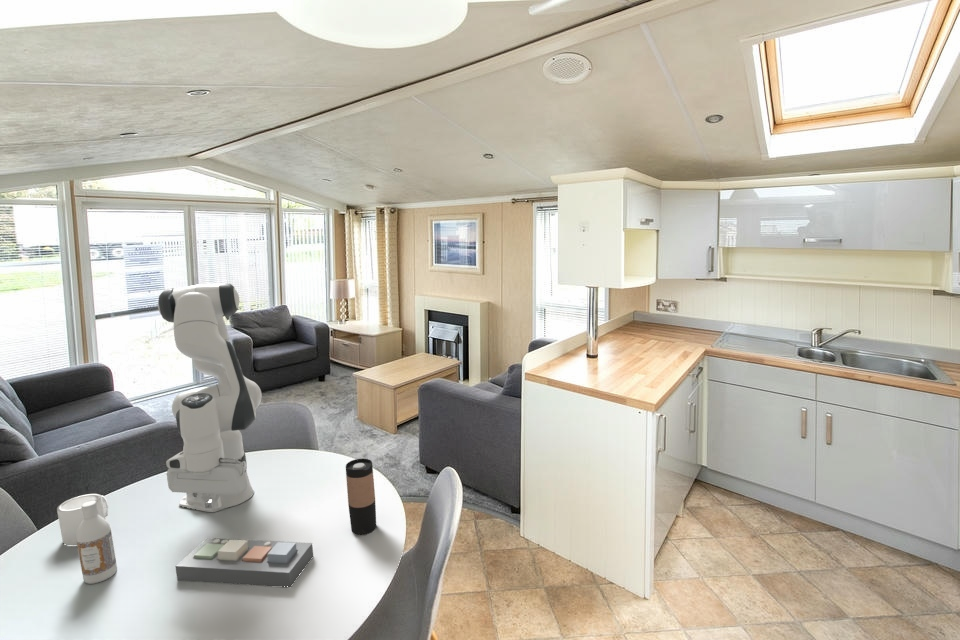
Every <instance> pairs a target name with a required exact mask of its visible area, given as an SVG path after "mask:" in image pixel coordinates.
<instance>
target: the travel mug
mask: <svg viewBox="0 0 960 640" xmlns="http://www.w3.org/2000/svg"><path fill="white" fill-rule="evenodd" d="M373 466H374V465H373V462H372V460H371V459H369V458H357V459H352V460H350V461H348V462H347V463H346V464H345V476H346V477H345V478H346V489H347V505H348V512H349V519H350V521H349V523H350V530H351V533H352V534H354V535H356V536H366V535H369V534H371V533H373V532H374V531H375V530H376V528H377V512H376V511H377V510H376V509H377V507H376V491H375V479H374V470H373Z"/></svg>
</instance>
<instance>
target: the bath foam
mask: <svg viewBox="0 0 960 640" xmlns="http://www.w3.org/2000/svg"><path fill="white" fill-rule="evenodd" d="M82 513H83V518H84V519H83V521H82V523H81V524H80V526H79V528H78V531H77V535H76V541H77V546H76V547H77V551H78V557H79V562H80V569H81V572H82V578H83V582H84V583H85V584H90V585H91V584H97V583H101V582H103V581H106V580H108V579H110V577H112V576H114V574H116V572H117V570H118V566H117V560H116V559H117V558H116V553H115V546H114V540H113V534H112V533H113V532H112V528H111V526H110V524H109V522H108V521H107V520H106V518H105V519H104V518H103V517H101V516H100V515H98V511H97V504H96V501H89V502H86V503H84V504H83V505H82Z"/></svg>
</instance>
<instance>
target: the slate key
mask: <svg viewBox="0 0 960 640" xmlns="http://www.w3.org/2000/svg"><path fill="white" fill-rule="evenodd" d="M288 542H289V541H281V542H277V544H276V545H275V546H274V547H273V548H272V549H271V550H270V551H269V553H268V554H267V556H268V563H282V564H288V562H289V561H290V560H291V559H292V557H293V556H294V555H295V554H296V552H297V548H296V543H288Z"/></svg>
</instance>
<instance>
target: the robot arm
mask: <svg viewBox="0 0 960 640" xmlns="http://www.w3.org/2000/svg"><path fill="white" fill-rule="evenodd" d="M239 305H240V295H239V292H238V291H237V289H236V288H235V286H234V285H233V284H231V283H229V282H227V283H226V282H220V283H200V284H195V285H189V286H188V285H187V286H183V287H178V288H174V287H172V288H168V289H166V290H163V291H162V292H161V293H159V295H158V301H157V310H158V311H159V314H160V315H161V317H162V319H163V320H165V321H166V322H168V323H173V336H174V341H175V346H176V348H177V350H178V351H179V352H180V353H181V354H183V355H185V356H186V357H188V358H190V359H192V364H193V367H194V369H195V370H196V371H197V372H199V373H201V374H204V375H207V376H211V377H214V378H216V379H217V380H218V383H216V384H213V385H207V386H201V387H195V388H192V389H188V390H185V391H182V392H179V393H178V394H177V395H176V396H175V397H174V399H173V400H172V404H171V413H172V415H173V416H174V418H175V421H176V426H177V427H176V428H177V433H178V434H179V435H180V436H181V438H182V440H183V446H182V447H183V449H182V451H180V452H178V453H177V454H175V455H173V456H172V457H170V458H169V459H167V460H166V461H165V465H166V468H168V469H167V473H166V478H167V479H166V480H167V486H168V490H170V491H171V492H172V493H184V494H185V495H184V496H183V497H182V498H181V499H180V501H179V503H178V507H180V506H182V507H181V508H184V507H187V508H186V509H190V508H192V509H191V510H195V509H196V510H195V511H203V512H207V513H216V512H218V511H222V510H224V509H228V508H231V507H234V506H235V507H236V506H237V505H240V504H243V503H245V502H247V501H248V500H250V498H251V497H253V495H254V493H255V490H254V489H253V487H252V485H251V482H250V479H249V476H248V471H247V467H248V466H247V457H246V453H245V451H244V445H243V435H242V432H241V431H244V430H246V429H247V428H249V427H251V425H252V424H253V423H254V422H255V420H256V415H257V410H256V409H257V408H258V407H259V406H260V405H261V401H262V398H263V397H262V396H263V393H262V390H261V388H260V386H259V385H258V383H256V382H255V381H253V380H251V379H249V378H247V377H246V376H245V375H244V374H243V370H242V367H241V364H240V361H239V359H238V356H237V354H236V350H235V347H234V345H233V344H232V342H230V339H229V334H228V328H227V325H226V323H225V320H226V321H228V320H230V317H232V316H234V315H235V314H236V313H237V311H238V310H239ZM224 317H225V320H224Z"/></svg>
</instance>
